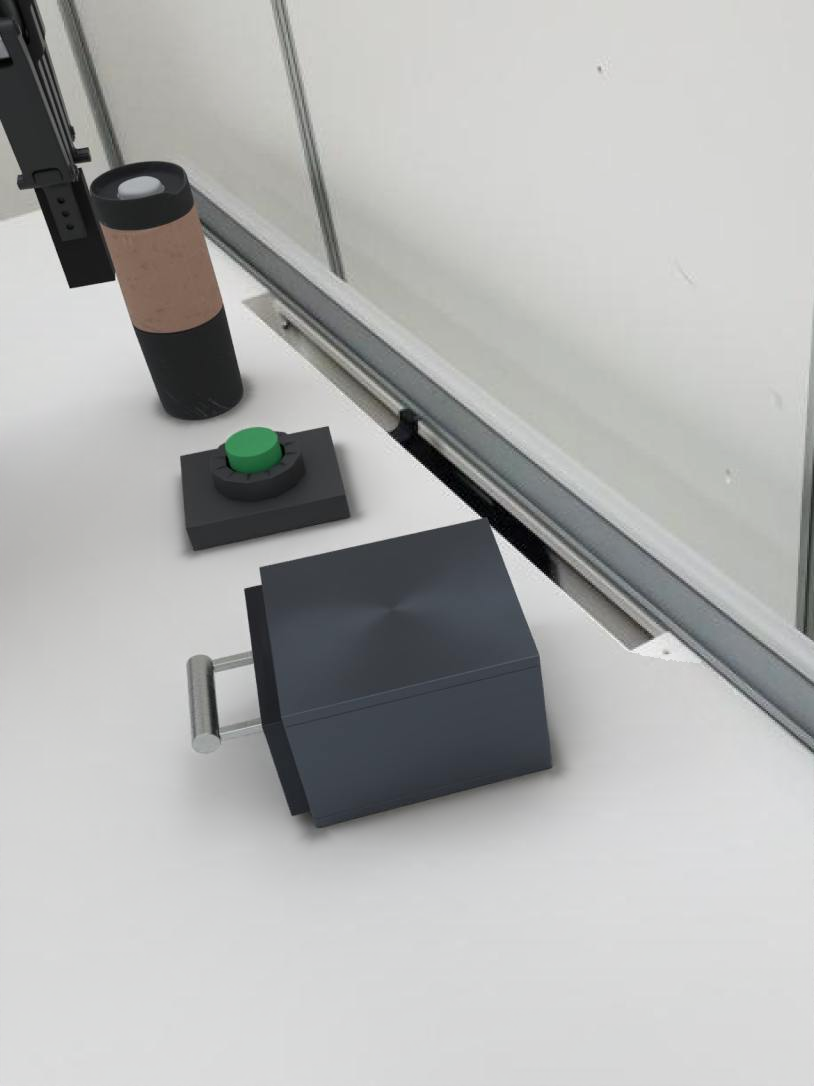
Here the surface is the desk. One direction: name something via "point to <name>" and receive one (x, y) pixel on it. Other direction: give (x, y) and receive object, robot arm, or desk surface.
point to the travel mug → (169, 286)
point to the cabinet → (404, 670)
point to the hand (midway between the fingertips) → (92, 278)
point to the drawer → (270, 723)
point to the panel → (262, 491)
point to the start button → (253, 450)
